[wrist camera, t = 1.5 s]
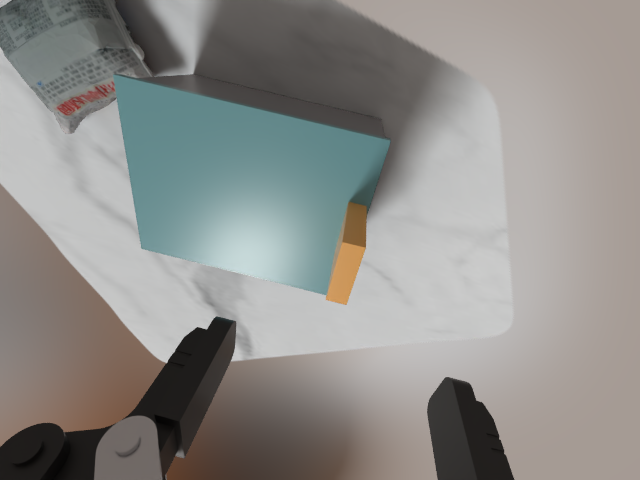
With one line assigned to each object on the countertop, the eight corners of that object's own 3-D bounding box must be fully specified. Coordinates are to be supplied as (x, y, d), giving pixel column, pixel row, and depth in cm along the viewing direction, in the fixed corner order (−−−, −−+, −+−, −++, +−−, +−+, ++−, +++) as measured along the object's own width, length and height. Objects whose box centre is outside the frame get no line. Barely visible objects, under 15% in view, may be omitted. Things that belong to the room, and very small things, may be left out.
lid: (152, 239, 25) (91, 289, 19) (129, 73, 18) (25, 77, 13) (341, 287, 24) (333, 351, 19) (389, 135, 18) (398, 167, 12)
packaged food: (183, 90, 25) (145, 95, 21) (84, 130, 28) (33, 141, 24) (122, -38, 21) (61, -64, 17) (16, 25, 25) (-58, 16, 20)
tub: (197, 203, 31) (148, 243, 24) (193, 74, 24) (124, 78, 17) (346, 240, 30) (339, 291, 23) (381, 119, 24) (385, 141, 17)
